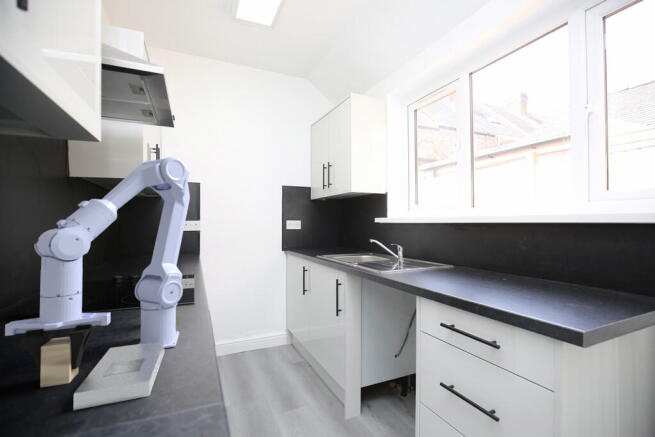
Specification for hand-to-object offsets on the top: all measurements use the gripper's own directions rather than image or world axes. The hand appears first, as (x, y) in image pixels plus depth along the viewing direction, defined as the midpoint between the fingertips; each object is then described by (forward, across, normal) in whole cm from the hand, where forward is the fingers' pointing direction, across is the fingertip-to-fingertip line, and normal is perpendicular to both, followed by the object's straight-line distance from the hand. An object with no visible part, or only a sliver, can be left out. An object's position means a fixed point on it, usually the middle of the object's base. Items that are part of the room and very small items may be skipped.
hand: (60, 369), depth 54 cm
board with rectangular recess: (+2, +11, -3) cm, 12 cm away
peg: (+2, 0, 0) cm, 2 cm away
